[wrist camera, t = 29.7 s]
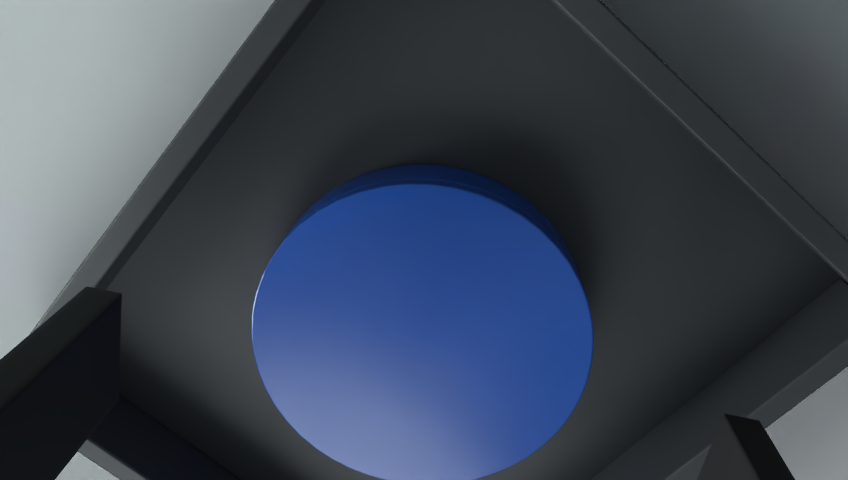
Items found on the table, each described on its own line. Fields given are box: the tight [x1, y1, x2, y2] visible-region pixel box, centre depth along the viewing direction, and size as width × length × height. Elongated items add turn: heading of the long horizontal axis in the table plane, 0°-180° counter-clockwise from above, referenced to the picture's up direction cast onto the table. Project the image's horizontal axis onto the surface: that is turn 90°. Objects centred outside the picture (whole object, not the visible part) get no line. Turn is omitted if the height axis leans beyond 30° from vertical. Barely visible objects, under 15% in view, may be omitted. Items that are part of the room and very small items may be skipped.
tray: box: [30, 0, 848, 480], centre depth 19 cm, size 17×15×3 cm
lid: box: [251, 164, 594, 480], centre depth 19 cm, size 9×8×2 cm
